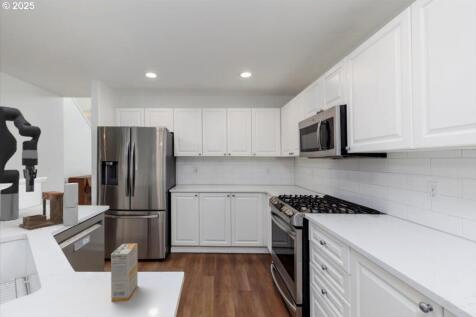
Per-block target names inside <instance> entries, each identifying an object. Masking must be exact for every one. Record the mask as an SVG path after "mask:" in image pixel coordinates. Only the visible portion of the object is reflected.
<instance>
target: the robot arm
mask: <svg viewBox="0 0 476 317" xmlns="http://www.w3.org/2000/svg"><path fill="white" fill-rule="evenodd" d="M7 122H13V126H15V128H16V129H17V130H18V135H20V136H22V137H27V138H31V139H30V140H24V141H22V144H21V145H22V147H21V148H22V150H21V166H22V167H23V166H24V167H25V168H24V169H22V174H23V179H25V180H26V172H27V174H28V176H29V186H34V187H35V179H37V175H38V168H36V167H35V166H38V165H39V154H38V153H39V152H38V142H39V140H40V137H41V134H42V129H41V128H40V127H39V126H36V125H32V123H30V122H29V121H28V120H26V119H25V117H24V114H23V113H22V112H21V110H20V109H19V108H17V107H10V106H4V105H3V106H1V105H0V185H2V184H5V185H6V184H11V185H10V186H8V187H6V188H3V189H2V188H1V189H0V221H1V220H5V221H13V220H17V218H18V219H19V218H20V215H19V214H20V208H19V207H20V199H19V198H20V192H19V191H20V190H19V189H20V176H21V175H20V171H19V170H18V169H5V168H6V165H7V163H8V162H9V161H10V160H11V158H12V157H13V156H14V155H15V153H17V150H18V144H17V143H18V141H17V139H16V137H15V136H14V134H13V133H12V132H11V130H10V129H9V128H8V125H7ZM32 176H33V177H32Z"/></svg>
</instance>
